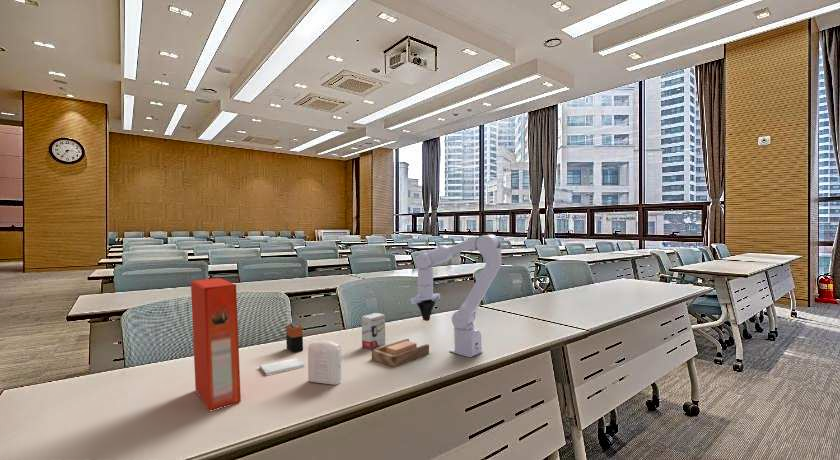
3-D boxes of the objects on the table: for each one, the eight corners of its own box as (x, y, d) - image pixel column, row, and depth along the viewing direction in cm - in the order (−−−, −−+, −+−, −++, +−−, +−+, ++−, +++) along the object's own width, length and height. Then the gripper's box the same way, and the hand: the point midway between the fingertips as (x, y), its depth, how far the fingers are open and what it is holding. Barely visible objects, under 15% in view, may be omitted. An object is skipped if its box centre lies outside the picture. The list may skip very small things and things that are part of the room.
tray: (429, 353, 143) (428, 344, 143) (393, 366, 131) (393, 357, 131) (407, 347, 151) (406, 338, 151) (371, 358, 139) (371, 349, 139)
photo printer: (343, 380, 120) (342, 340, 120) (336, 386, 116) (335, 344, 116) (314, 377, 123) (313, 337, 123) (306, 382, 119) (305, 341, 119)
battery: (297, 346, 155) (297, 320, 154) (303, 350, 149) (302, 324, 149) (286, 348, 152) (285, 322, 152) (291, 353, 146) (291, 326, 146)
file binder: (207, 412, 102) (203, 287, 101) (194, 390, 115) (190, 280, 114) (240, 402, 107) (237, 284, 106) (224, 383, 120) (221, 277, 119)
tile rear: (416, 354, 143) (416, 343, 143) (406, 357, 139) (406, 346, 139) (407, 351, 147) (406, 340, 146) (397, 354, 143) (396, 343, 143)
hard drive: (265, 372, 125) (304, 363, 132) (259, 365, 132) (296, 357, 139) (265, 377, 125) (304, 368, 132) (259, 370, 132) (296, 361, 139)
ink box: (370, 349, 149) (369, 318, 149) (361, 347, 152) (360, 316, 152) (386, 343, 156) (385, 313, 155) (376, 341, 159) (376, 312, 158)
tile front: (406, 357, 139) (406, 346, 139) (396, 361, 136) (396, 350, 136) (397, 354, 143) (396, 343, 143) (386, 358, 139) (386, 347, 139)
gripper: (430, 281, 158) (431, 315, 158) (404, 285, 148) (405, 322, 148) (444, 282, 153) (444, 317, 153) (418, 287, 143) (418, 325, 143)
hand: (426, 320), depth 150 cm, fingers closed
